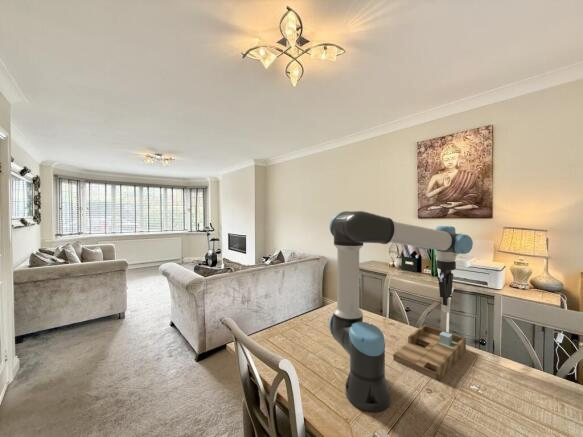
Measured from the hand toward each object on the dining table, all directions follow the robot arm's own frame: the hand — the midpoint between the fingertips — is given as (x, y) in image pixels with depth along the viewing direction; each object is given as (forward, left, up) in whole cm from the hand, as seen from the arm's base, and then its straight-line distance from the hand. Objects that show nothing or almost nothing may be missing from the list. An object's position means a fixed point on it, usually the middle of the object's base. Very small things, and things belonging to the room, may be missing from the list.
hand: (446, 311), depth 111 cm
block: (+3, +1, -16) cm, 16 cm away
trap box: (-8, +3, -18) cm, 20 cm away
